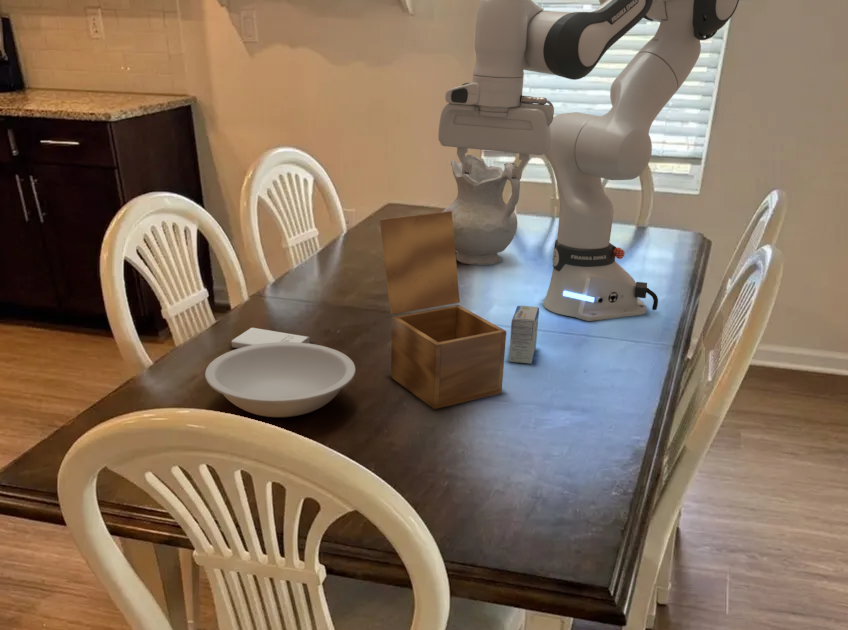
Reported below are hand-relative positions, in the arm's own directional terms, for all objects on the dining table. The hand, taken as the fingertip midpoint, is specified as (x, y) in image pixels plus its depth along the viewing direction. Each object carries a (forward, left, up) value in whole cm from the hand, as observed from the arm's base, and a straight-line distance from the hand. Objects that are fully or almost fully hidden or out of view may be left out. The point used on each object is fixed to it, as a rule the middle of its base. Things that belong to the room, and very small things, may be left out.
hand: (491, 176), depth 156 cm
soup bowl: (+41, +28, -31) cm, 58 cm away
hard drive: (+42, +1, -31) cm, 52 cm away
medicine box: (-5, +12, -31) cm, 33 cm away
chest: (+12, +23, -31) cm, 40 cm away
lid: (+16, +15, -11) cm, 24 cm away
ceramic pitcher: (-13, -52, -31) cm, 62 cm away
